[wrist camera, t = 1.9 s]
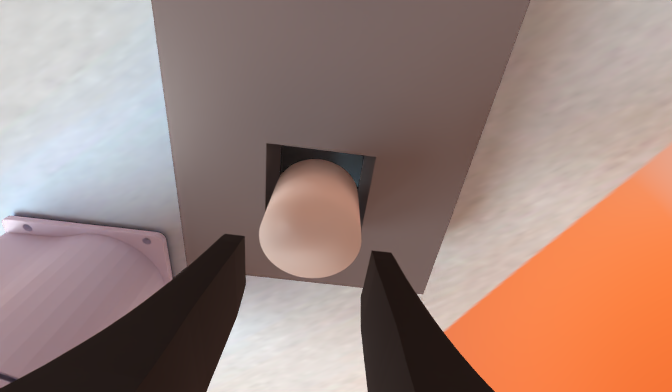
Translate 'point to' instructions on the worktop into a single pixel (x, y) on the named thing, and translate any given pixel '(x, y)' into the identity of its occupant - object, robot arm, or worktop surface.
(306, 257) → the beige button
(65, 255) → the robot arm
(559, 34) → the worktop surface
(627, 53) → the worktop surface
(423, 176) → the block
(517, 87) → the worktop surface
